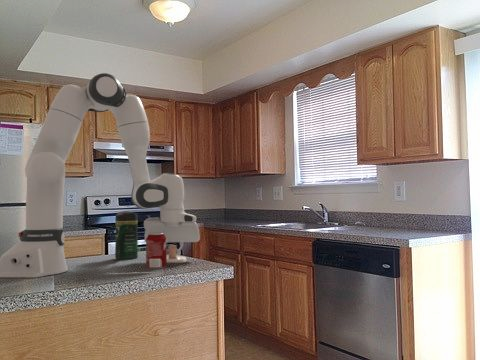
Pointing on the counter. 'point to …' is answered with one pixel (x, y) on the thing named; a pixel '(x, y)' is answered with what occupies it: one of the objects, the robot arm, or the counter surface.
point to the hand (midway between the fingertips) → (172, 254)
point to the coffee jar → (126, 236)
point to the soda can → (156, 250)
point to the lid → (174, 255)
